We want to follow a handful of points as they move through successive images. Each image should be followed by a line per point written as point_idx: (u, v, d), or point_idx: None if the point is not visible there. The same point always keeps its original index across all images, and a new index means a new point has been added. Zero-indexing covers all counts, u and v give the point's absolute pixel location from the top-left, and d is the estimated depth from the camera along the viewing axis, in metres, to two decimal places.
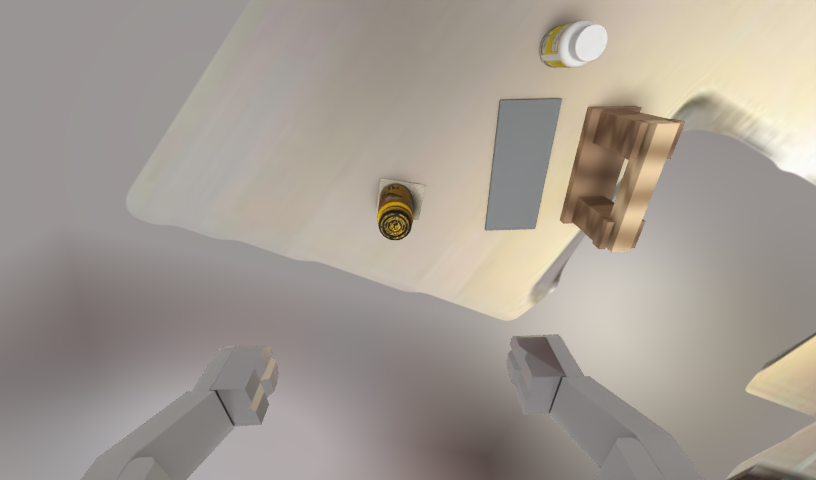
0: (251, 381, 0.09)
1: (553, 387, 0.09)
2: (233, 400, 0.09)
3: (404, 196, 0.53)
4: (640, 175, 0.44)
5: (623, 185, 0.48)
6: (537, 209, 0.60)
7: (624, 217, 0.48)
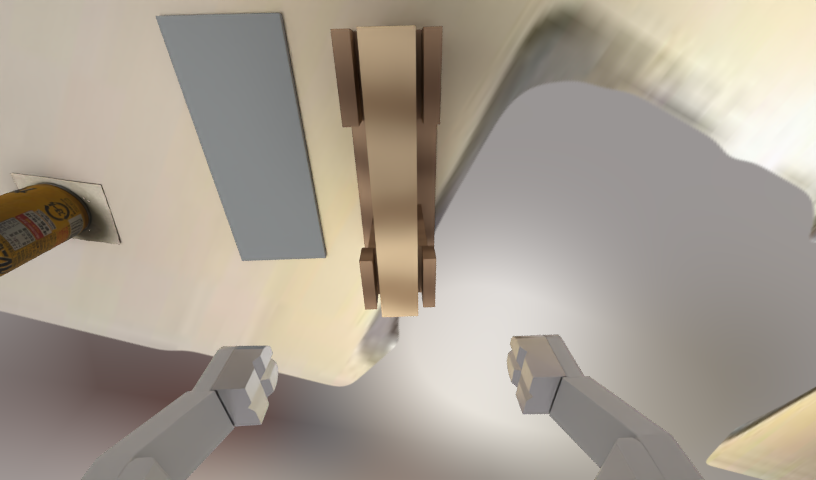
0: (251, 381, 0.09)
1: (553, 387, 0.09)
2: (233, 400, 0.09)
3: (2, 207, 0.28)
4: (372, 163, 0.19)
5: None
6: (316, 227, 0.35)
7: (378, 254, 0.23)
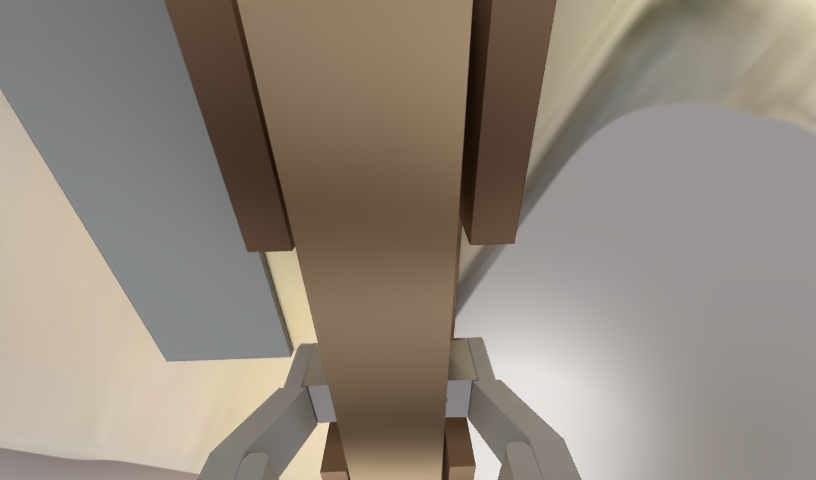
0: None
1: (467, 390, 0.09)
2: (322, 397, 0.09)
3: None
4: (329, 348, 0.07)
5: None
6: (274, 319, 0.23)
7: None
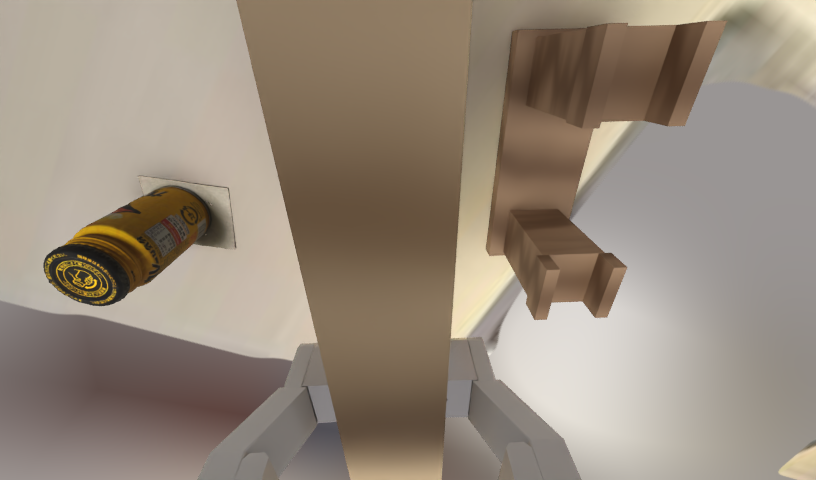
0: None
1: (467, 390, 0.09)
2: (322, 397, 0.09)
3: (148, 212, 0.27)
4: (330, 350, 0.07)
5: None
6: None
7: None
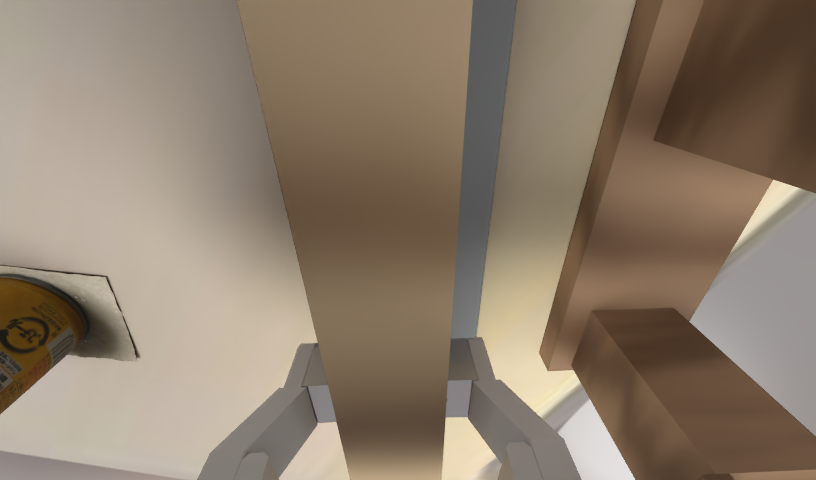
0: None
1: (467, 390, 0.09)
2: (322, 397, 0.09)
3: None
4: (330, 350, 0.07)
5: None
6: (470, 336, 0.21)
7: None
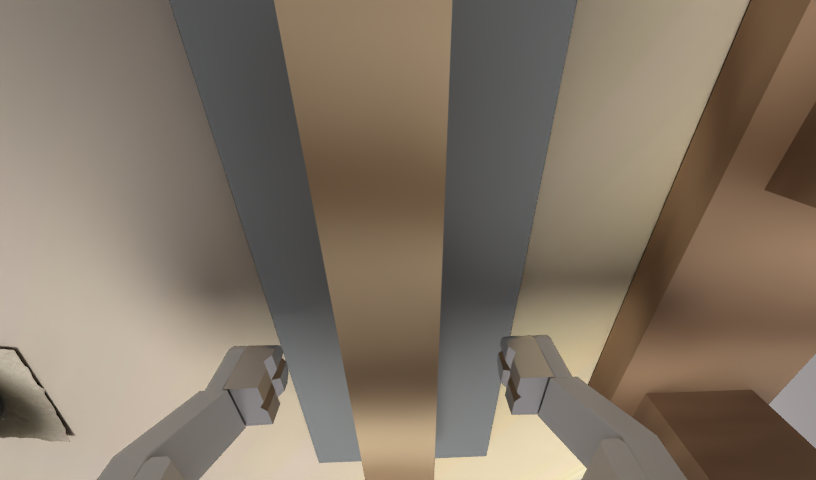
0: (263, 380, 0.09)
1: (542, 387, 0.09)
2: (245, 400, 0.09)
3: None
4: (340, 303, 0.09)
5: None
6: (487, 415, 0.17)
7: (360, 437, 0.12)
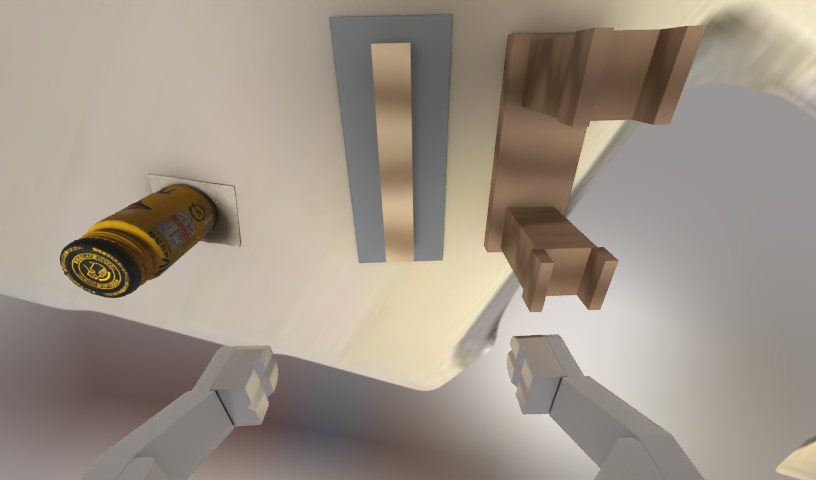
0: (251, 381, 0.09)
1: (554, 387, 0.09)
2: (233, 400, 0.09)
3: (158, 208, 0.28)
4: (380, 138, 0.27)
5: None
6: (440, 229, 0.35)
7: (383, 209, 0.30)
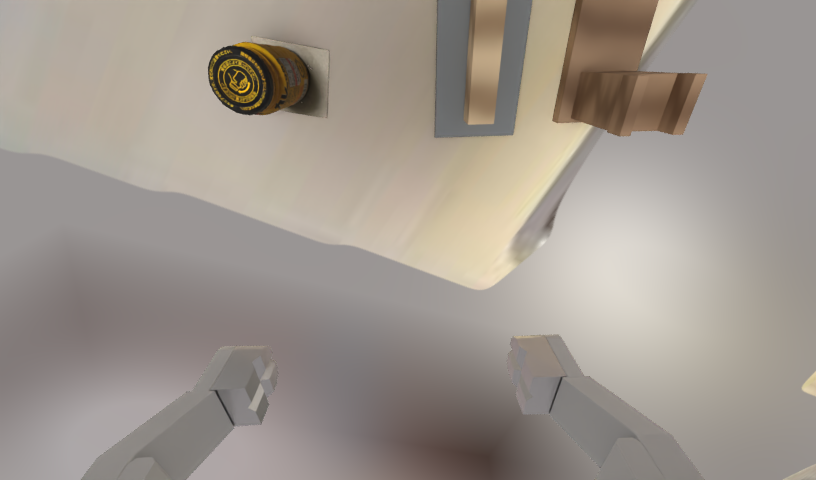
0: (251, 381, 0.09)
1: (553, 387, 0.09)
2: (233, 400, 0.09)
3: (275, 48, 0.30)
4: None
5: (471, 16, 0.33)
6: (515, 99, 0.38)
7: (473, 62, 0.33)
